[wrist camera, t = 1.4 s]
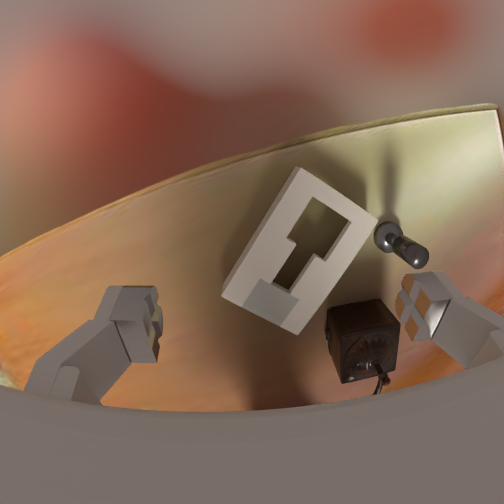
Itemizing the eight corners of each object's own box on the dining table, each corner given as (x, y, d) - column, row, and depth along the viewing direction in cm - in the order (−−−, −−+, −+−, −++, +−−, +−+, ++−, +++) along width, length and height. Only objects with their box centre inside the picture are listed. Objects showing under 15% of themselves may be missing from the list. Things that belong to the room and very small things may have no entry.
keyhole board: (366, 214, 48) (378, 220, 43) (293, 320, 53) (297, 335, 48) (295, 166, 45) (300, 167, 40) (223, 283, 51) (220, 296, 46)
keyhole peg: (404, 231, 49) (439, 251, 38) (389, 255, 50) (420, 280, 39) (384, 216, 48) (418, 233, 37) (368, 240, 49) (398, 264, 38)
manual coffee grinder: (323, 308, 53) (352, 373, 35) (380, 297, 52) (426, 353, 35) (325, 374, 57) (347, 441, 40) (377, 362, 57) (409, 423, 40)
